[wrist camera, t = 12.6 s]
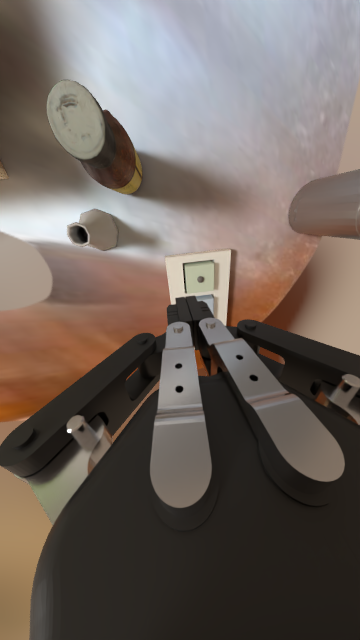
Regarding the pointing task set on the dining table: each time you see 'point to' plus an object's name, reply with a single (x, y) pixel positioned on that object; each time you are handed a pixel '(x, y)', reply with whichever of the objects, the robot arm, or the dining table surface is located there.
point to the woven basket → (3, 172)
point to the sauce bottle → (93, 137)
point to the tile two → (207, 300)
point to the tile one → (199, 276)
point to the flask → (94, 230)
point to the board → (220, 278)
